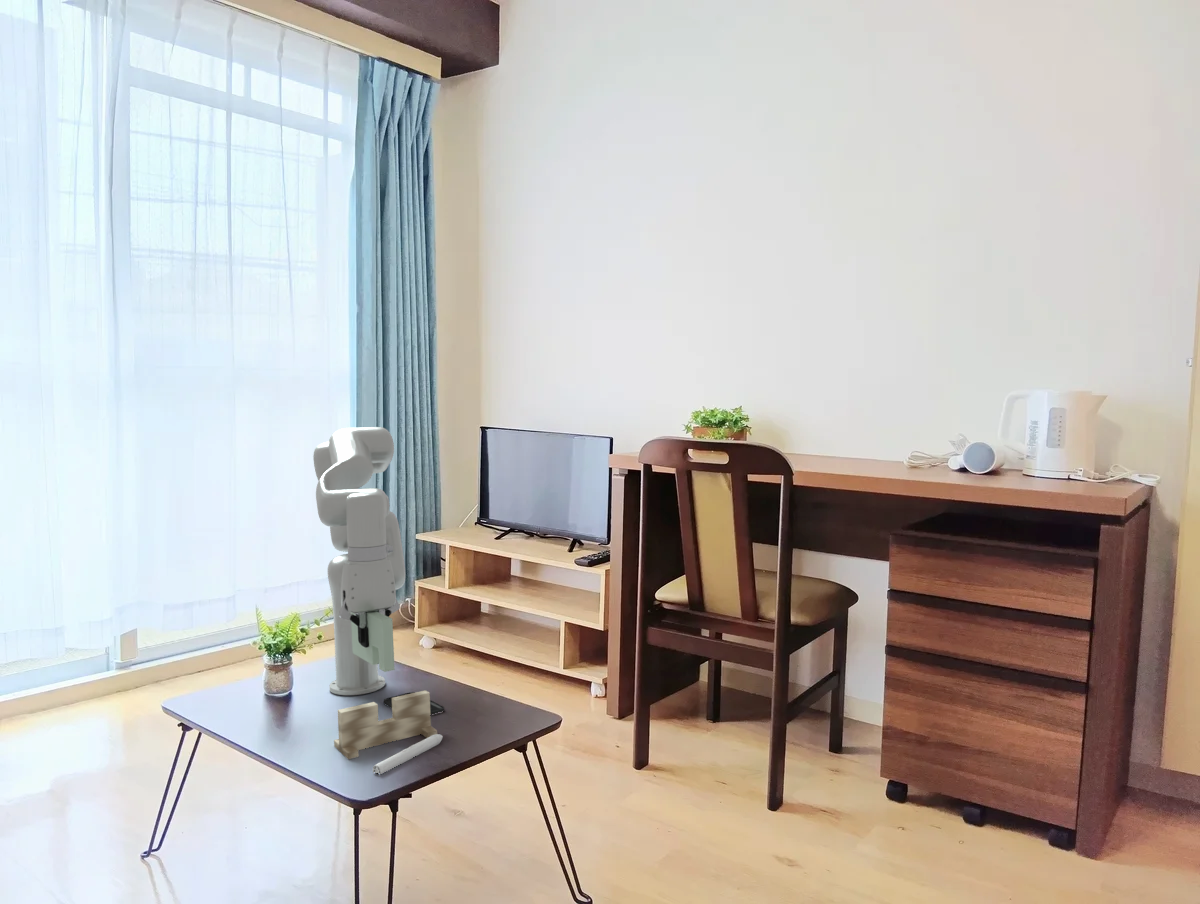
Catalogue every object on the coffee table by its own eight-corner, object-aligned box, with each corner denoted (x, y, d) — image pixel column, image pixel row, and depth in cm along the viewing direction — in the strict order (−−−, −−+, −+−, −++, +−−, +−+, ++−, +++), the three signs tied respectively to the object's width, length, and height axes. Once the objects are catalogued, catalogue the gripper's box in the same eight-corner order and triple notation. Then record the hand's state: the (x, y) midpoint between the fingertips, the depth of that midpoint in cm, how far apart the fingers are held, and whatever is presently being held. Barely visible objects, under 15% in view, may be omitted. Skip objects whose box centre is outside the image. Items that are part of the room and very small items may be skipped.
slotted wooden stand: (348, 759, 162) (346, 717, 162) (334, 746, 169) (332, 705, 168) (437, 736, 173) (435, 696, 172) (421, 724, 179) (419, 686, 179)
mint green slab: (394, 669, 168) (392, 618, 167) (384, 671, 167) (382, 620, 166) (362, 651, 183) (359, 604, 182) (352, 653, 181) (350, 605, 181)
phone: (413, 691, 198) (446, 708, 187) (413, 696, 198) (446, 713, 187) (381, 699, 193) (412, 717, 182) (381, 704, 193) (412, 722, 182)
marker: (438, 740, 171) (438, 728, 171) (446, 742, 170) (446, 730, 170) (372, 775, 156) (371, 762, 156) (381, 777, 155) (380, 764, 155)
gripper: (398, 547, 182) (401, 634, 183) (321, 556, 173) (325, 648, 173) (412, 551, 176) (415, 641, 176) (334, 561, 166) (338, 656, 167)
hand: (371, 644), depth 175 cm, fingers closed on mint green slab, 2 cm apart
